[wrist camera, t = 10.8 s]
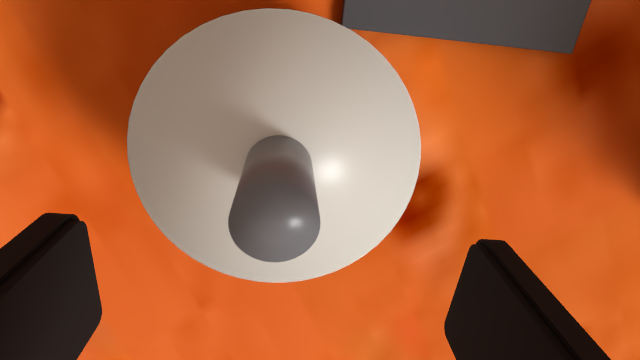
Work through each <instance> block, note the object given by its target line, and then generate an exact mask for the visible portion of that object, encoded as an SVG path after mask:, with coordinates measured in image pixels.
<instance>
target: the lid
mask: <svg viewBox="0 0 640 360" xmlns="http://www.w3.org/2000/svg"><path fill="white" fill-rule="evenodd" d="M127 150H128V161H129V166H130V172H131V176H132V179H133V182H134V185H135V188H136V191H137V194H138V196H139V198H140V200H141V202H142V204H143V206H144V208H145V210H146V211H147V213H148V214H149V216H150V217H151V219H152V220H153V222H154V223H155V224H156V225H157V227H158V228H159V229H160V230H161V231H162V232H163V234H164V235H165V236H166V237H167V238H168V239H169V240H170V241H172V242H173V243H174V244H175V245H176V246H177V247H178V248H179V249H181V250H182V251H183V252H185V253H186V254H188V255H189V256H190V257H192V258H193V259H195V260H197V261H199V262H200V263H202V264H204V265H206V266H208V267H210V268H212V269H215V270H217V271H219V272H222V273H224V274H228V275H231V276H234V277H237V278H242V279H247V280H252V281H260V282H271V283H274V282H294V281H302V280H307V279H312V278H316V277H320V276H323V275H326V274H329V273H332V272H335V271H337V270H339V269H341V268H343V267H345V266H347V265H350V264H351V263H353V262H355V261H356V260H358V259H359V258H361V257H363V256H364V255H365V254H367V253H368V252H369V251H370V250H372V249H373V248H374V247H376V246H377V245H378V244H379V243H380V242H381V241H382V240H383V239H384V238H385V237H386V236H387V235H388V234H389V232H390V231H391V230H392V228H393V227H394V226H395V225H396V223H397V222H398V221H399V219H400V217H401V216H402V214H403V212H404V211H405V209H406V207H407V205H408V203H409V201H410V198H411V196H412V194H413V191H414V188H415V184H416V181H417V178H418V172H419V166H420V160H421V139H420V131H419V123H418V119H417V116H416V112H415V108H414V105H413V103H412V100H411V98H410V96H409V93H408V91H407V89H406V87H405V85H404V84H403V82H402V80H401V79H400V77H399V75H398V74H397V72H396V71H395V69H394V68H393V67H392V66H391V65H390V63H389V62H388V61H387V60H386V58H385V57H384V56H383V55H382V54H381V53H380V52H379V51H378V50H376V49H375V48H374V47H373V46H372V45H371V44H370V43H369V42H368V41H366V40H365V39H363V38H362V37H360V36H359V35H357V34H356V33H355V32H353V31H352V30H350V29H348V28H346V27H344V26H342V25H340V24H338V23H336V22H334V21H332V20H329V19H326V18H323V17H320V16H317V15H314V14H311V13H306V12H301V11H296V10H290V9H272V8H264V9H254V10H245V11H240V12H236V13H232V14H228V15H224V16H221V17H219V18H216V19H214V20H211V21H209V22H207V23H204V24H202V25H200V26H199V27H197V28H195V29H194V30H192V31H190V32H189V33H187V34H185V35H184V36H182V37H181V38H180V39H179V40H178V41H176V42H175V43H174V44H173V45H172V46H170V47H169V48H168V49H167V50H166V51H165V52H164V53H163V54H162V55H161V57H160V58H159V59H158V60H157V61H156V62H155V63H154V65H153V66H152V68H151V69H150V71H149V72H148V74H147V75H146V77H145V79H144V80H143V82H142V84H141V86H140V88H139V90H138V93H137V95H136V97H135V100H134V103H133V107H132V110H131V114H130V118H129V125H128V134H127Z"/></svg>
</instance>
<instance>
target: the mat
mask: <svg viewBox="0 0 640 360" xmlns="http://www.w3.org/2000/svg"><path fill="white" fill-rule="evenodd" d="M590 2H591V0H344V4H343V12H342V21H341V25H342V26H344V27H346V28H349V29H357V30H366V31H375V32H384V33H393V34H402V35H410V36H419V37H428V38H437V39H446V40H455V41H463V42H472V43H481V44H490V45H499V46H508V47H516V48H525V49H534V50H543V51H552V52H561V53H569V54H572V52H573V49H574V47H575V44H576V41H577V38H578V36H579V33H580V30H581V27H582V24H583V22H584V19H585V16H586V13H587V11H588V8H589V5H590Z"/></svg>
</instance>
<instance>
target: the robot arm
mask: <svg viewBox="0 0 640 360" xmlns="http://www.w3.org/2000/svg"><path fill="white" fill-rule="evenodd" d="M101 316H102V307H101V301H100V296H99V290H98V285H97V280H96V274H95V269H94V263H93V258H92V253H91V247H90V242H89V236H88V231H87V226H86V224H85V222H83V221H79V218H78V217H77V216H76V215H74V214H59V213H45V214H43V215H41V216H40V217H39V218H38V219H37V220H35V221H34V222H33V223H32V224H30V225H29V226H28V227H27V228H25V229H24V230H23V231H22V232H21V233H19V234H18V235H17V236H16V237H14V238H13V239H12V240H11V241H9V242H8V243H7V244H6V245H4V246H3V247H2V248H1V249H0V360H77V358H78V357H79V355H80V353H81V352H82V350H83V349H84V347H85V345H86V344H87V342H88V341H89V339H90V338H91V336H92V334H93V333H94V331H95V330H96V328H97V326H98V324H99V322H100V320H101ZM444 329H445V335H446V338H447V340H448V342H449V345H450V347H451V349H452V351H453V353H454V356H455V358H456V360H611V359H610V358H609V357H608V356H607V355H606V354H605V352H604V351H603V350H602V349H601V348H600V347H599V346H598V345H597V343H596V342H595V341H594V340H593V339H592V338H591V337H590V336H589V334H588V333H587V332H586V331H585V330H584V329H583V328H582V327H581V326H580V324H579V323H578V322H577V321H576V320H575V319H574V318H573V317H572V315H571V314H570V313H569V312H568V311H567V310H566V309H565V308H564V306H563V305H562V304H561V303H560V302H559V301H558V300H557V299H556V297H555V296H554V295H553V294H552V293H551V292H550V291H549V290H548V288H547V287H546V286H545V285H544V284H543V283H542V282H541V281H540V280H539V278H538V277H537V276H536V275H535V274H534V273H533V272H532V271H531V269H530V268H529V267H528V266H527V265H526V264H525V263H524V262H523V260H522V259H521V258H520V257H519V256H518V255H517V254H516V253H515V251H514V250H513V249H512V248H511V247H510V246H509V245H508V244H507V243H506V242H505V241H502V240H488V239H480V240H478V242H477V243H476V244H473V245H471V247H470V248H469V251H468V254H467V257H466V260H465V263H464V266H463V269H462V272H461V275H460V278H459V281H458V284H457V287H456V290H455V293H454V296H453V299H452V302H451V305H450V308H449V311H448V314H447V317H446V320H445V325H444Z"/></svg>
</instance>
